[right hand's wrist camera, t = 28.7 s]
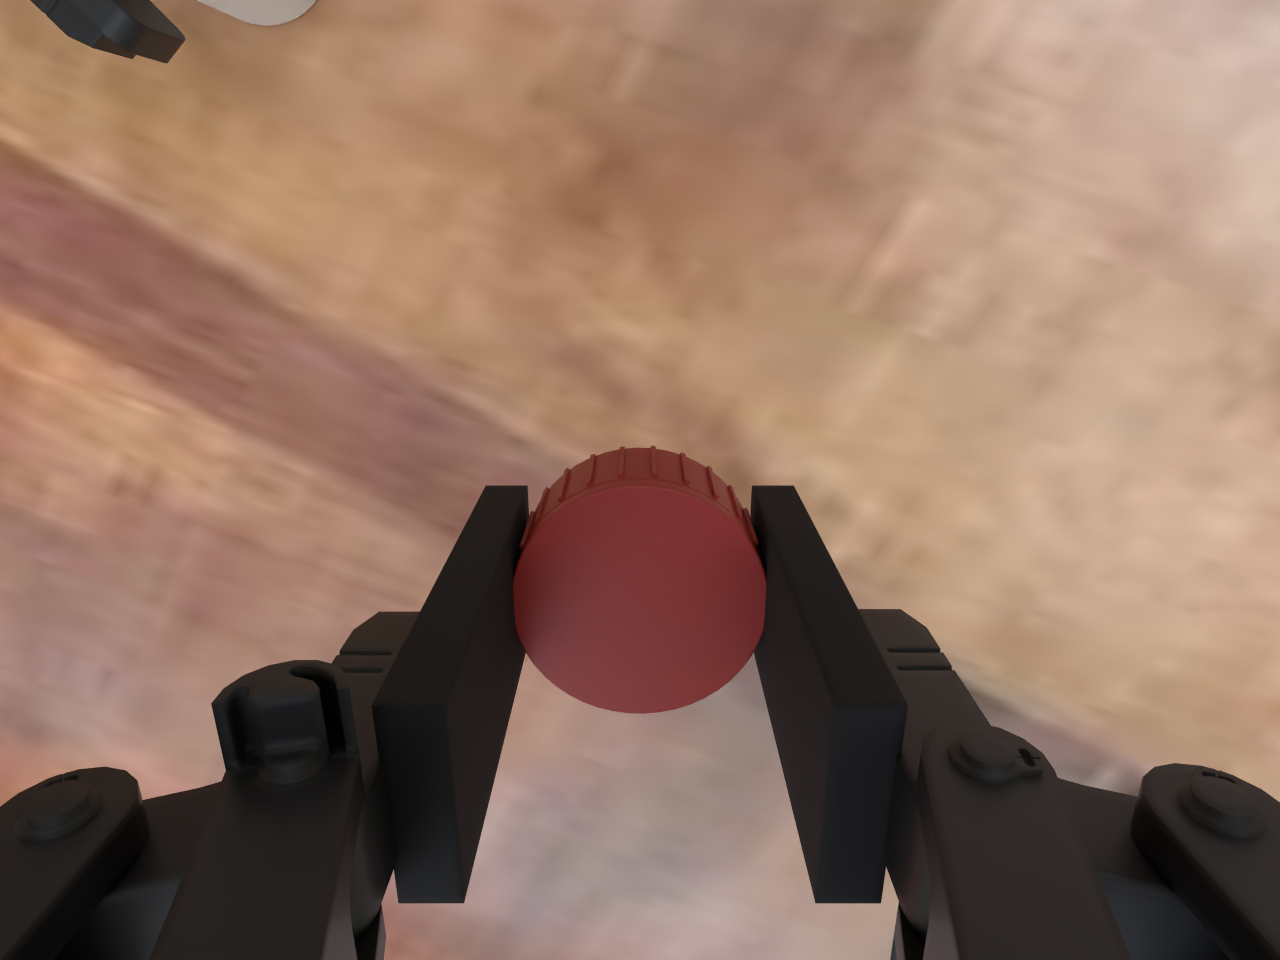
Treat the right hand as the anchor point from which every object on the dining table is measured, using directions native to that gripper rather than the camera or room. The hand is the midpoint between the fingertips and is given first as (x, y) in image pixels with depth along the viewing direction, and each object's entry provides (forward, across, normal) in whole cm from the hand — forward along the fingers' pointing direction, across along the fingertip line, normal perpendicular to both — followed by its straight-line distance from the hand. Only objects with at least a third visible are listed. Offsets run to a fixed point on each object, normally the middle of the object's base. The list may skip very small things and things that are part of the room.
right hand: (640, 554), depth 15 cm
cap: (-2, 0, 0) cm, 2 cm away
